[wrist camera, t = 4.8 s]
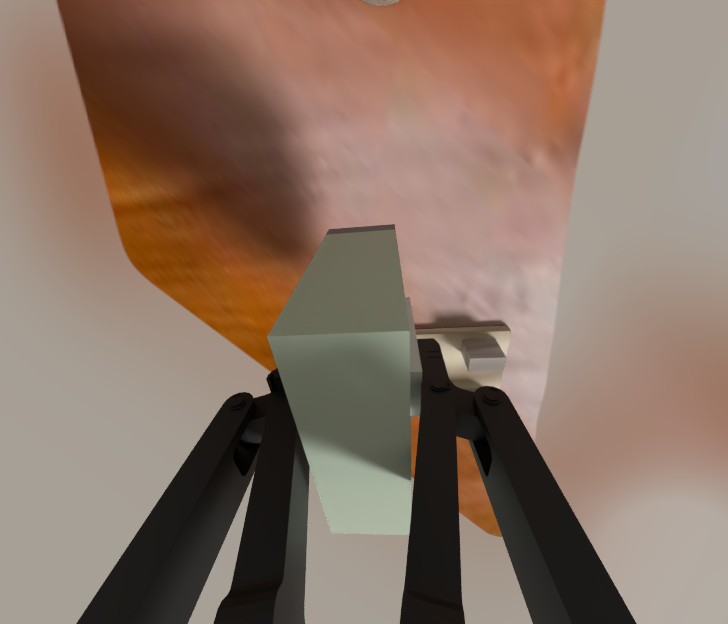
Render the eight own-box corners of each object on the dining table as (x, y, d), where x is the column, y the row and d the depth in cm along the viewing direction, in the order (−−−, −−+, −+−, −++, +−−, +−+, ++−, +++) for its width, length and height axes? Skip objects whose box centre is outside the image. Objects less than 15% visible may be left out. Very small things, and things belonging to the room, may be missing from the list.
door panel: (351, 376, 21) (331, 533, 13) (329, 229, 16) (267, 336, 7) (399, 374, 21) (411, 535, 13) (394, 224, 16) (409, 330, 7)
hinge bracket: (350, 332, 30) (346, 356, 27) (507, 325, 29) (524, 349, 25) (359, 399, 35) (356, 426, 32) (493, 396, 34) (506, 424, 30)
